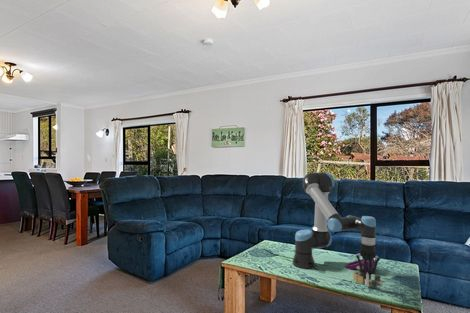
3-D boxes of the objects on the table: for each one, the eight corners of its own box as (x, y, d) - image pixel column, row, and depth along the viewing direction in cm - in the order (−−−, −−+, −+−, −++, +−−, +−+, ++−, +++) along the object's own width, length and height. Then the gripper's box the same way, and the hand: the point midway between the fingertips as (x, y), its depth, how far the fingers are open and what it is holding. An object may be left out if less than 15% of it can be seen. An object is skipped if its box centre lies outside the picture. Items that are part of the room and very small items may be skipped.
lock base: (338, 284, 166) (338, 269, 166) (335, 275, 179) (335, 261, 179) (390, 290, 159) (390, 275, 159) (383, 280, 172) (383, 265, 172)
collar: (350, 278, 172) (350, 270, 172) (363, 277, 174) (363, 269, 174) (368, 290, 156) (368, 282, 156) (381, 289, 158) (381, 281, 158)
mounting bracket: (349, 280, 186) (376, 274, 177) (344, 267, 188) (370, 261, 179) (352, 275, 194) (378, 269, 185) (347, 263, 196) (372, 256, 187)
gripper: (356, 244, 159) (355, 285, 159) (381, 247, 155) (380, 289, 155) (355, 240, 166) (354, 280, 166) (379, 243, 162) (378, 283, 162)
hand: (366, 284), depth 161 cm, fingers closed
